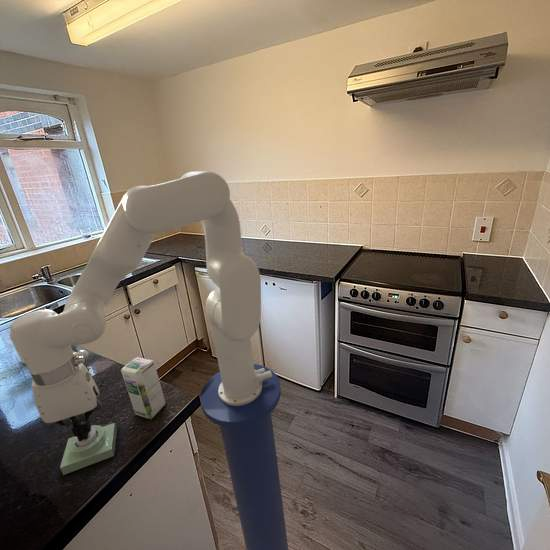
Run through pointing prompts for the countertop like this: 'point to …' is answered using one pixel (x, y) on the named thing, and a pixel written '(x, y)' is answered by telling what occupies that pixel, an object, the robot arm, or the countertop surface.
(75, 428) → the robot arm
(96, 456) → the green push button base
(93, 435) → the white round push button
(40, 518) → the countertop surface
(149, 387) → the syrup box
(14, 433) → the countertop surface
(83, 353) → the flush lever
